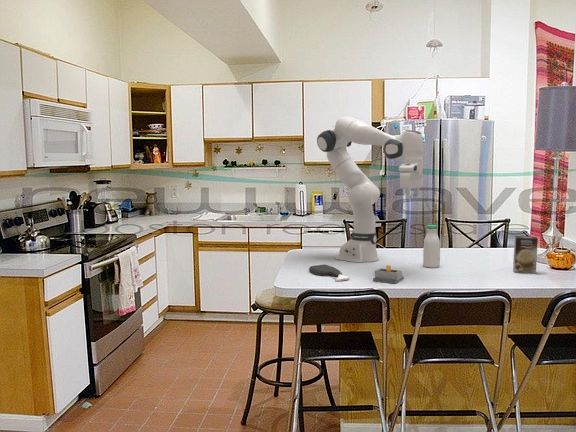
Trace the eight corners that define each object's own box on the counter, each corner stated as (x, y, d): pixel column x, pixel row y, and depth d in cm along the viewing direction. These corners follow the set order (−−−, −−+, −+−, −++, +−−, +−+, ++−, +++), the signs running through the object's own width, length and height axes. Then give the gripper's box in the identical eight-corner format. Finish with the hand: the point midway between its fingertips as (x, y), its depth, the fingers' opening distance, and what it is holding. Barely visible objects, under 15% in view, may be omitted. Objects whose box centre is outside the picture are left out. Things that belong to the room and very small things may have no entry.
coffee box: (514, 273, 232) (515, 237, 230) (512, 270, 238) (514, 235, 236) (536, 274, 229) (537, 238, 227) (534, 271, 235) (536, 236, 233)
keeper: (372, 281, 220) (373, 265, 219) (382, 276, 228) (382, 261, 227) (395, 284, 214) (395, 268, 214) (403, 279, 223) (404, 263, 222)
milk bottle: (440, 268, 244) (441, 226, 242) (423, 267, 245) (424, 226, 243) (439, 265, 251) (439, 224, 249) (422, 264, 253) (423, 224, 251)
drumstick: (327, 270, 245) (355, 281, 223) (306, 272, 241) (333, 284, 219) (327, 263, 245) (355, 274, 223) (306, 266, 240) (333, 277, 218)
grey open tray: (374, 277, 221) (374, 270, 221) (380, 274, 226) (380, 268, 226) (397, 280, 216) (397, 273, 215) (402, 277, 221) (402, 270, 221)
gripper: (413, 166, 238) (413, 196, 240) (397, 167, 221) (397, 199, 223) (426, 166, 235) (426, 197, 236) (411, 167, 218) (411, 200, 219)
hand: (412, 198), depth 229 cm, fingers open, 8 cm apart
